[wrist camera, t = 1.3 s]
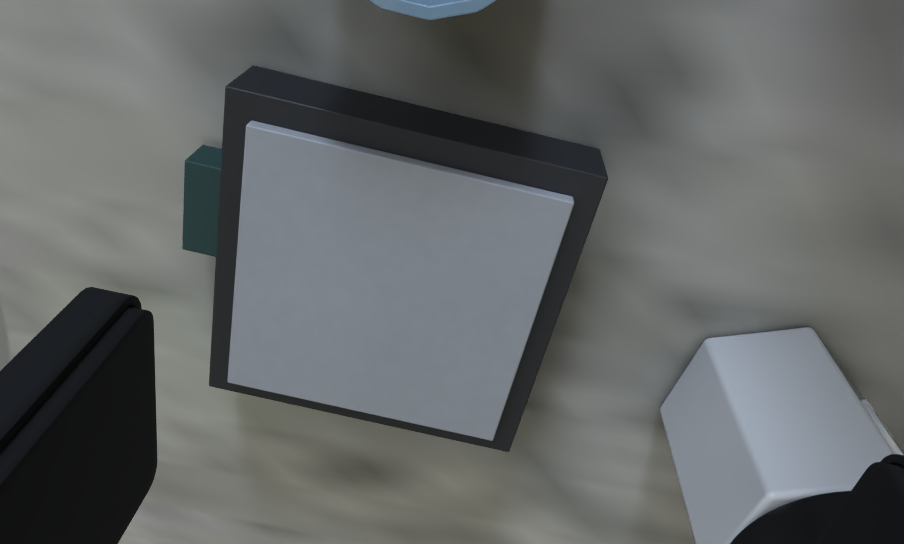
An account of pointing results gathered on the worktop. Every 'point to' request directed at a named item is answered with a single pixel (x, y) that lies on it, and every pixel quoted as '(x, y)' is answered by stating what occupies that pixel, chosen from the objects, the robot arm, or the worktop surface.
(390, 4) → the bowl
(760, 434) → the jar
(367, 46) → the worktop surface
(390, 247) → the scale
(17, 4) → the worktop surface
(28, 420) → the robot arm
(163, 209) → the worktop surface
